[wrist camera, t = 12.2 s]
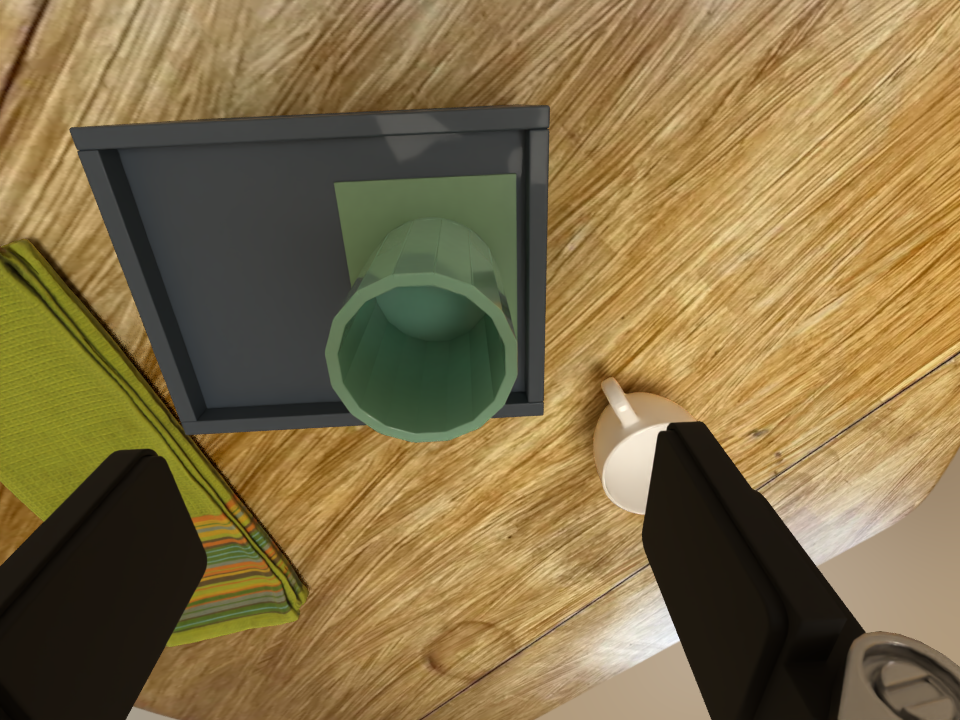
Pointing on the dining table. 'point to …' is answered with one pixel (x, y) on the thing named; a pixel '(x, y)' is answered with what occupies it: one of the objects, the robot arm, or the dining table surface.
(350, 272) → the tray
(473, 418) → the tumbler
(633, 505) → the cup
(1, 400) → the dish towel
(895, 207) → the dining table surface
